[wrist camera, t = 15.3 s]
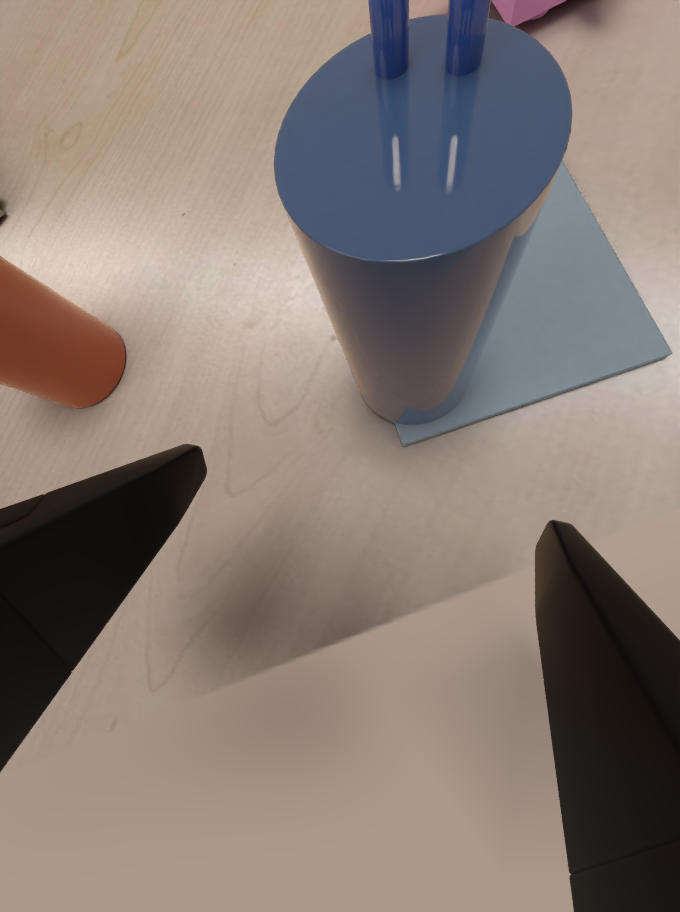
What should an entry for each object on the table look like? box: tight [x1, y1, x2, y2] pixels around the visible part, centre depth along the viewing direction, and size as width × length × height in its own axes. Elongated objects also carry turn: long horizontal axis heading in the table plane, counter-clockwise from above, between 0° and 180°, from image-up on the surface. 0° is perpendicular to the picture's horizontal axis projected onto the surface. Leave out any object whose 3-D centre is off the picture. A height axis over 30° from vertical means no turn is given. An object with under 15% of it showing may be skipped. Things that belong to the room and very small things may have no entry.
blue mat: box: [395, 161, 672, 447], centre depth 21 cm, size 18×14×1 cm
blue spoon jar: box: [274, 0, 572, 425], centre depth 13 cm, size 6×6×16 cm
